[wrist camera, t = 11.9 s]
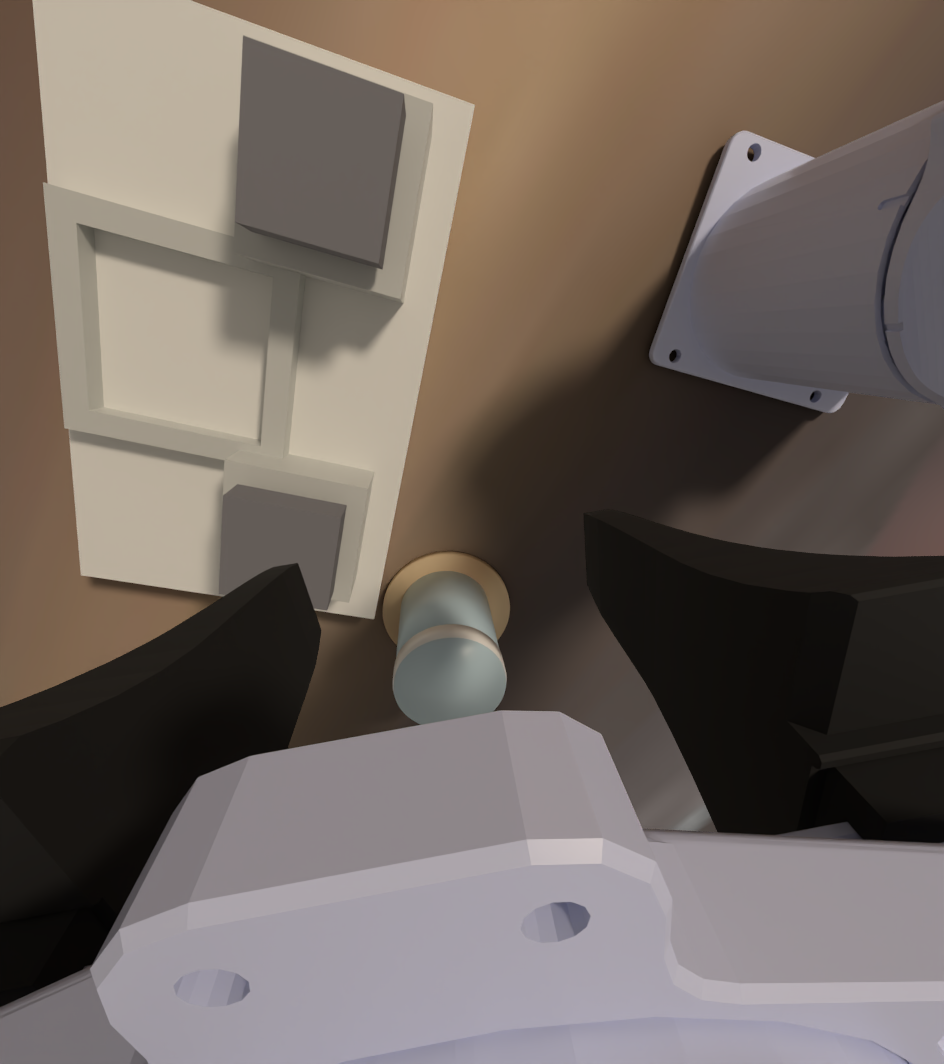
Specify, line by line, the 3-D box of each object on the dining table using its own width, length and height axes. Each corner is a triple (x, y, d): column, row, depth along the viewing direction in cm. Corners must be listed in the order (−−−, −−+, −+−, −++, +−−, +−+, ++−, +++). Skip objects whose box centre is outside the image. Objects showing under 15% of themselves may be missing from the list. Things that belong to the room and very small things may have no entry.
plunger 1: (408, 142, 13) (404, 93, 11) (387, 276, 15) (378, 264, 12) (281, 99, 13) (242, 35, 10) (271, 243, 14) (234, 222, 11)
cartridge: (467, 555, 22) (480, 621, 17) (503, 625, 24) (524, 704, 18) (383, 592, 22) (370, 668, 17) (424, 658, 24) (424, 745, 19)
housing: (468, 131, 16) (483, 66, 12) (378, 596, 23) (368, 649, 19) (81, -7, 14) (-55, -141, 10) (111, 553, 21) (39, 603, 17)
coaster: (523, 563, 23) (525, 568, 22) (490, 665, 25) (491, 671, 25) (395, 540, 22) (395, 544, 21) (374, 648, 24) (372, 654, 23)
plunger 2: (354, 489, 18) (341, 517, 15) (341, 570, 19) (327, 610, 16) (255, 469, 17) (223, 495, 14) (249, 555, 18) (218, 593, 15)
